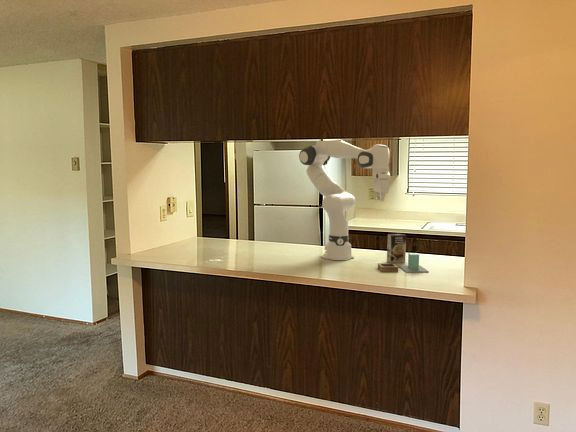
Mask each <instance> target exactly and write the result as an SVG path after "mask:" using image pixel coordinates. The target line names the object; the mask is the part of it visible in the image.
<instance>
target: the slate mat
mask: <svg viewBox="0 0 576 432" xmlns="http://www.w3.org/2000/svg"><path fill="white" fill-rule="evenodd" d="M398 268H400V269H401V270H402V271H404V272H405V273H407V274H410V273H411V274H412V273H413V274H414V273H415V274H416V273H418V274H419V273H421V274H423V273H427V274H428V273H429V271H428V270H427V269H426V268H425V267H423V266H421V265H419V269H409V268H408V265H398Z"/></svg>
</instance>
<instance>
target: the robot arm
mask: <svg viewBox="0 0 576 432" xmlns="http://www.w3.org/2000/svg"><path fill="white" fill-rule="evenodd" d="M340 140H341V139H340ZM298 157H299V161H300V163H301V164H302V165H304V166H307V168H306V170H305V171H306V175H307V176H308V179H309V180H310V181H311V183H312V184H313V186H314V187H315V189H316V190H317V191H318V193H320V195H322V196H324V198H323V199H322V204H321V205H322V208H323V211H325V212H326V213H327V217H328V222H329V234H328V242H327V244H326V245H324V250H325V251H324V253H323V255H322V259H327V260H333V261H348V260H351V259H354V258H355V255H353V254H352V244H351V243H350V242H349V240H350V235H349V221H348V220H347V218H346V216H345V212H347V211H350V210H351V209H353V208H354V207H355V206H356V203H357V200H356V198H355V196H354V195H353V194H351V193H349V192H348V191H347V190H345V189H344V188H343V187H342V186H340V185H339V184H338V183H337V182H336V181H335V180H334V179H333V177H331V175H330V174H329V173H328V171H326V168H325V167H324V166H326V165H327V164H328V162H329V161H330V159H331V158H333V159H334V158H335V159H357V160H356V161H357V165H358V166H359V167H360V168H361V169H372V175H371V176H372V179H373V183H372V185H373V186H372V191H374V192H375V196H376V197H375V199H376V200H377V201H380V202H385V196H386V194H388V193H389V188H390V180H391V173H390V166H389V165H390V149H389V147H388V146H387V145H385V144H379V143H378V144H377V143H376V144H374V145H373V146H371V147H370V148H368V149H364V148H361V147H357V146H355V145H352V144H351V143H349V142H346V141H344V140H341V141H317V140H316V143H315V145H310V146H306V147H304V148H303V149H301V150H300V151H299V155H298Z"/></svg>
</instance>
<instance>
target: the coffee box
mask: <svg viewBox="0 0 576 432" xmlns="http://www.w3.org/2000/svg"><path fill="white" fill-rule="evenodd" d="M386 247H387V248H386V262H388V263H394V264H397V263H398V264H399V263H406V253H407V252H406V250H407V235H406V234H404V233H388V234H387V246H386Z"/></svg>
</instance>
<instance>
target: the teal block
mask: <svg viewBox="0 0 576 432" xmlns="http://www.w3.org/2000/svg"><path fill="white" fill-rule="evenodd" d="M407 257H408V258H407V259H408V260H407V266H408V268H409V269H419V266H420V254H419V253H417V252H409V253H408V256H407Z"/></svg>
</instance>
